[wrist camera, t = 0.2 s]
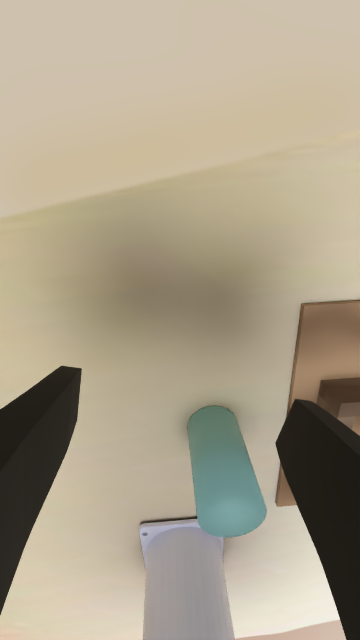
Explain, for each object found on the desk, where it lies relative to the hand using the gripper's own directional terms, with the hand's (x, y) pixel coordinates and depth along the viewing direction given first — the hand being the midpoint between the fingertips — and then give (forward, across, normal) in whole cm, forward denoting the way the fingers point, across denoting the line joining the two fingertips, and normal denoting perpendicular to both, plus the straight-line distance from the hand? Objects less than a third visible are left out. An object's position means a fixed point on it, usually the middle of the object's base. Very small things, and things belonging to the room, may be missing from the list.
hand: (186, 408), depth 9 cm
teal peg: (+10, -5, +9) cm, 15 cm away
